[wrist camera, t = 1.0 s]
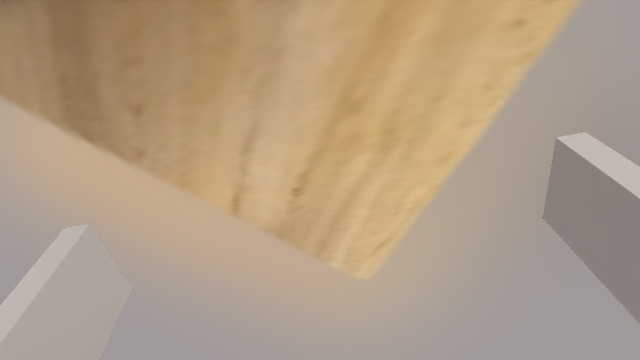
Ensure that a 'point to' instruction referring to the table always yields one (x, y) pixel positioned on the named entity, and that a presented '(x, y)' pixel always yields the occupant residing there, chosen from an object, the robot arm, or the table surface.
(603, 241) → the robot arm
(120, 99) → the table surface
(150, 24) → the table surface
